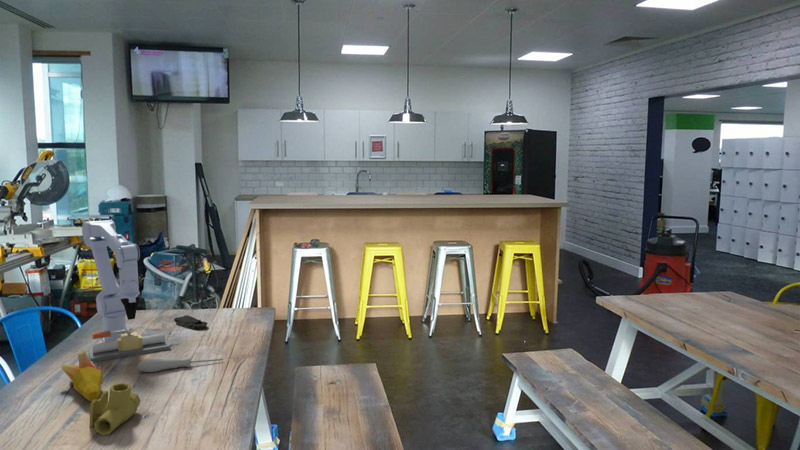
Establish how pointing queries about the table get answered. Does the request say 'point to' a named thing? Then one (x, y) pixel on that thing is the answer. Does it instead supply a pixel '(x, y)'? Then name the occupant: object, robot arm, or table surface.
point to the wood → (190, 323)
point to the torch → (85, 376)
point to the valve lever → (110, 333)
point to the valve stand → (128, 346)
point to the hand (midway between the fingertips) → (131, 318)
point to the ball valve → (113, 408)
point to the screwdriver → (166, 363)
